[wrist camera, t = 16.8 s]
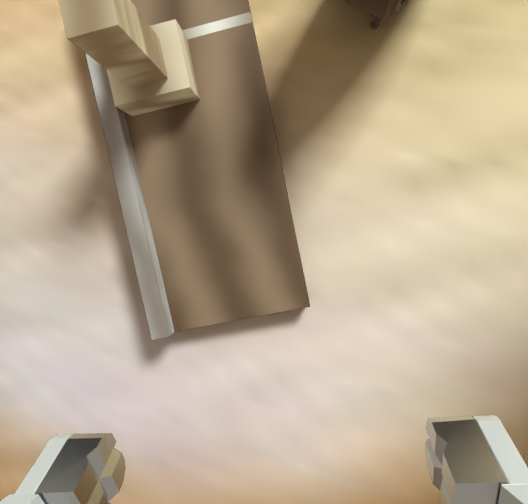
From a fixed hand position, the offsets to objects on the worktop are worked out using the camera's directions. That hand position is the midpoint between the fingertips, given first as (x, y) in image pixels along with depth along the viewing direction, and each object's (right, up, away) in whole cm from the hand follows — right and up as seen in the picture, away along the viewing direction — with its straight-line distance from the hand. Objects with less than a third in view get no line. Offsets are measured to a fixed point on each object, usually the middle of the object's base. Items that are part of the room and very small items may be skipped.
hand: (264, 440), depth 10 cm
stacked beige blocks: (-9, +19, +22) cm, 30 cm away
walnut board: (-6, +14, +24) cm, 28 cm away
